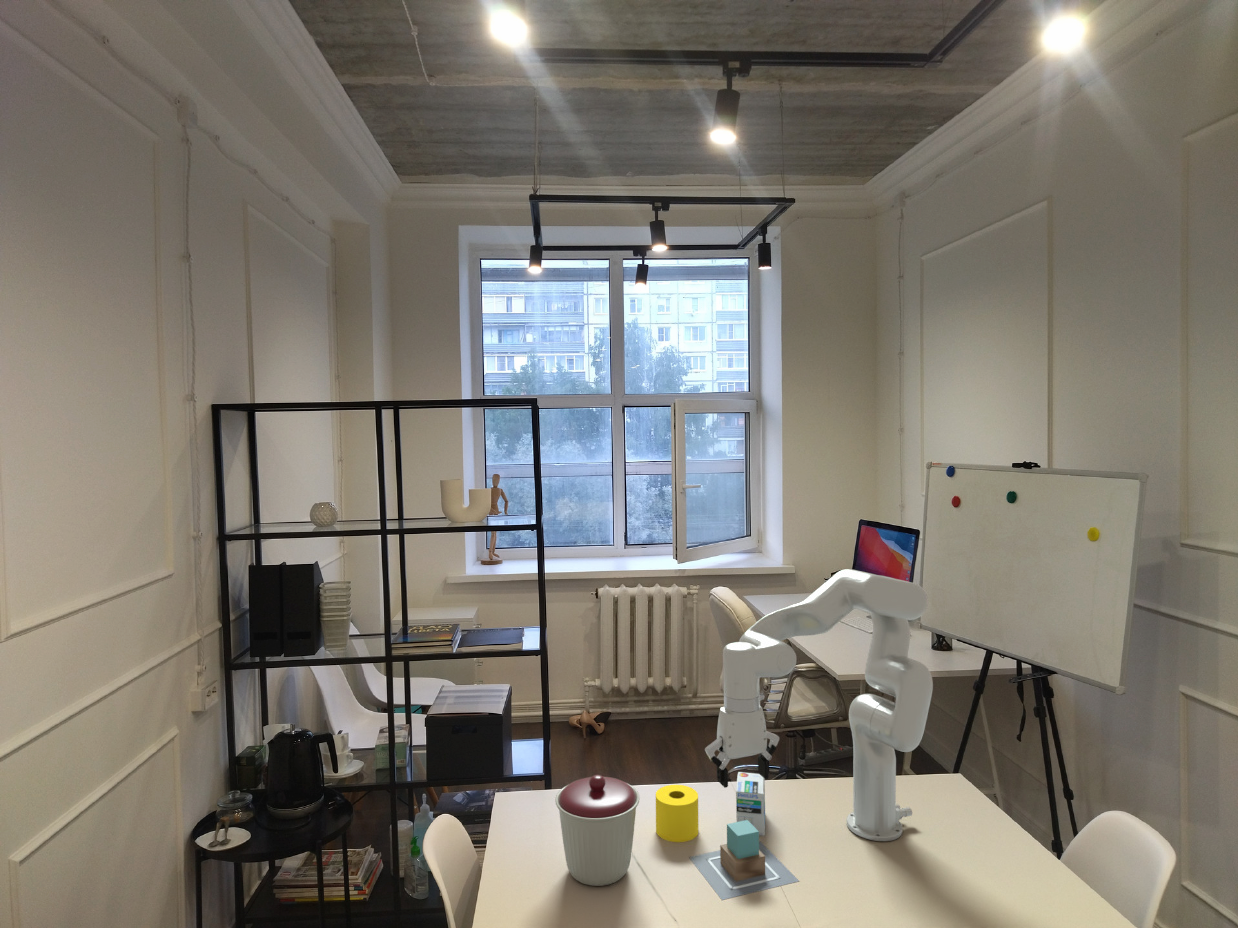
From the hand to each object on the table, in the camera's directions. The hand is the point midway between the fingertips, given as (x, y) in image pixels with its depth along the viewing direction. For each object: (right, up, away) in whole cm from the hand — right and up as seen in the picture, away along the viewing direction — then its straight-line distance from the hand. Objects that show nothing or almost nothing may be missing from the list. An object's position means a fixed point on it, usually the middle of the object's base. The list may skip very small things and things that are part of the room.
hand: (743, 780), depth 158 cm
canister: (-31, -21, +2) cm, 37 cm away
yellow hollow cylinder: (-13, -20, +16) cm, 29 cm away
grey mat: (0, -20, +1) cm, 20 cm away
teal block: (0, -15, 0) cm, 15 cm away
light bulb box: (+5, -20, +19) cm, 28 cm away
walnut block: (0, -19, +1) cm, 19 cm away
